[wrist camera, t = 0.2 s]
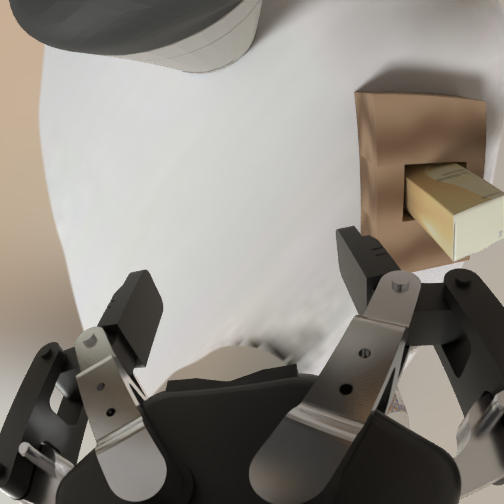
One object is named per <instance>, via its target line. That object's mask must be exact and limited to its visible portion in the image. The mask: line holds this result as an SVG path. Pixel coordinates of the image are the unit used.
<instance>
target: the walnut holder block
mask: <svg viewBox="0 0 504 504" xmlns="http://www.w3.org/2000/svg"><path fill="white" fill-rule="evenodd" d="M354 94H355V103H356V113H357V125H358V139H359V155H360V180H361V236H366V235H370V236H372V237H374V238H375V239H377V240H379V242H380V243H381V244H382V245H383V248H385V249H386V251H387V252H388V254H390V256H391V257H392V258H393V260H394V261H395V262H396V264H397V265H398V266H399V268H400V269H401V270H402V271H408V272H415V271H420V270H425V269H429V268H434V267H439V266H443V265H448V264H452V263H457V262H461V261H465V260H469V258H470V255H469V256H466V257H464V258H462V259H459V260H457V261H452V260H451V258H450V257H449V256H448V255H447V254H446V253H445V251H444V250H443V249H442V248H441V247H440V246H439V245H438V243H437V242H436V241H435V240H434V239H433V238H432V237H431V236H430V235H429V234H428V232H427V231H426V230H425V229H424V228H423V227H422V226H421V225H420V224H419V223H418V222H417V221H416V220H415V219H414V218H413V217H412V216H411V215H410V214H409V213H408V212H407V211H406V210H405V208H404V207H403V200H404V165H407V164H423V163H444V162H455V163H457V164H458V165H460V166H462V167H464V168H465V169H467V170H469V171H470V172H472V173H474V174H475V175H477V176H479V177H480V178H482V179H483V175H484V164H485V149H486V102H484V101H479V100H475V99H470V98H465V97H460V96H451V95H440V94H427V93H408V92H354Z"/></svg>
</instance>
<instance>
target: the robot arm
mask: <svg viewBox="0 0 504 504" xmlns="http://www.w3.org/2000/svg"><path fill="white" fill-rule="evenodd" d="M9 2H10V7H11V9H12V12H13V15H14V17H15V18H16V20H17V22H18V23H19V25H20V26H21V27H22V28H23V30H24V31H26V32H27V33H28V34H29V35H30V36H32V37H33V38H35V39H36V40H38V41H40V42H42V43H44V44H46V45H48V46H51V47H55V48H58V49H62V50H67V51H72V52H80V53H88V54H97V55H103V56H110V57H116V58H123V59H129V60H135V61H140V62H145V63H150V64H155V65H160V66H164V67H169V68H173V69H177V70H181V71H183V72H189V73H209V72H214V71H218V70H221V69H224V68H226V67H228V66H230V65H232V64H233V63H235V62H236V61H237V60H239V59H240V58H241V57H242V56H243V55H244V54H245V53H246V52H247V50H248V49H249V47H250V46H251V44H252V42H253V40H254V37H255V33H256V29H257V25H258V21H259V16H260V11H261V6H262V2H263V0H9ZM336 240H337V250H338V261H339V268H340V272H341V276H342V278H343V280H344V283H345V285H346V287H347V289H348V291H349V294H350V296H351V298H352V300H353V302H354V305H355V307H356V309H357V312H358V314H359V315H356V316H355V317H354V318H353V319H352V321H351V323H350V324H349V326H348V328H347V330H346V332H345V333H344V335H343V337H342V338H341V340H340V342H339V344H338V345H337V347H336V349H335V350H334V352H333V354H332V355H331V357H330V359H329V360H328V362H327V364H326V365H325V367H324V368H323V370H322V372H321V373H320V375H319V376H317V375H313V374H303V373H298V370H297V365H296V364H293V365H287V366H282V367H276V368H271V369H264V370H261V371H258V372H255V373H252V374H250V375H247V376H244V377H241V378H238V379H235V380H232V381H227V382H226V381H216V380H206V379H198V378H195V379H183V380H171V381H168V383H167V387H166V391H163V392H160V393H157V394H155V395H153V396H151V397H150V398H148V396H147V395H146V393H145V391H144V389H143V388H142V386H141V384H140V382H139V381H138V379H137V377H136V376H135V374H134V373H133V370H134V368H142V367H146V364H147V360H148V357H149V354H150V351H151V347H152V344H153V341H154V338H155V334H156V331H157V328H158V325H159V322H160V319H161V316H162V313H163V302H162V299H161V296H160V294H159V292H158V290H157V288H156V286H155V284H154V282H153V279H152V277H151V275H150V273H149V272H148V271H147V270H141V271H136V272H132V273H130V274H129V275H128V277H127V279H126V281H125V282H124V284H123V286H121V287H120V288H119V289H118V290H117V291H116V292H115V294H114V295H113V297H112V299H111V302H110V303H109V305H108V306H107V309H106V310H105V312H104V314H103V316H102V318H101V320H100V321H99V323H98V325H97V327H92V328H89V329H87V330H86V331H84V332H83V333H82V334H81V335H80V336H79V337H78V338H77V340H76V342H75V347H73V348H70V349H67V350H64V351H63V350H62V348H61V347H60V346H59V344H58V343H56V342H52V343H48V344H47V345H45V346H44V347H42V348H41V349H40V350H39V352H38V353H37V354H36V356H35V358H34V360H33V362H32V364H31V366H30V368H29V370H28V372H27V374H26V376H25V378H24V380H23V382H22V384H21V386H20V388H19V390H18V392H17V395H16V397H15V399H14V401H13V404H12V406H11V408H10V410H9V413H8V415H7V418H6V420H5V422H4V425H3V427H2V430H1V433H0V491H2V492H4V493H5V494H7V495H8V496H10V497H11V498H12V499H13V500H15V501H17V502H19V503H20V504H458V503H459V500H460V499H462V498H464V497H467V496H469V495H471V494H473V493H475V492H477V491H479V490H481V489H483V488H485V487H487V486H489V485H491V484H493V485H502V484H504V307H503V306H502V304H501V303H500V302H499V300H498V299H497V298H496V297H495V296H494V294H493V293H492V292H491V290H490V289H489V288H488V287H487V286H486V284H485V283H484V282H483V281H482V279H481V278H480V277H479V276H478V275H477V274H476V273H474V272H472V271H470V270H467V269H453V270H450V271H448V272H447V273H446V274H445V276H444V282H443V283H421V281H420V279H419V278H418V277H417V276H416V275H415V274H413V273H411V272H408V271H402V270H401V269H400V268H399V266H398V265H397V264H396V262H395V261H394V260H393V258H392V257H391V256H390V254H388V252H387V251H386V249H385V248H383V245H382V244H381V243H380V242H379V240H377V239H375V238H374V237H372V236H370V235H366V236H361V234H360V233H359V232H358V230H357V229H356V228H355V226H350V227H346V228H341V229H337V230H336ZM421 345H433V346H434V348H435V350H436V352H437V354H438V356H439V358H440V360H441V363H442V365H443V367H444V369H445V371H446V373H447V376H448V378H449V380H450V383H451V385H452V387H453V390H454V392H455V394H456V397H457V399H458V402H459V404H460V406H461V409H462V411H463V414H464V417H465V418H464V419H463V421H462V422H461V424H460V426H459V428H458V431H457V435H456V438H457V445H458V447H457V448H458V450H457V454H456V457H455V458H452V457H451V456H450V454H449V453H447V452H446V451H445V450H444V449H442V448H441V447H439V446H437V445H435V444H434V443H432V442H430V441H428V440H427V439H425V438H423V437H422V436H420V435H418V434H416V433H415V432H413V431H411V430H410V429H408V428H407V427H405V426H403V425H402V424H400V423H398V422H397V421H395V420H393V419H392V418H390V417H389V416H387V415H386V414H387V412H388V410H389V407H390V405H391V402H392V399H393V396H394V393H395V390H396V387H397V385H398V382H399V379H400V377H401V374H402V371H403V369H404V366H405V363H406V360H407V358H408V355H409V352H410V349H411V346H421ZM54 387H56V388H57V389H58V390H59V391H60V392H61V393H62V394H63V395H64V396H63V399H62V401H61V404H60V407H59V410H58V413H57V414H55V413H54V412H53V411H52V409H51V407H50V403H49V401H50V397H51V394H52V392H53V389H54ZM88 420H89V423H90V426H91V428H92V431H93V434H94V437H95V440H96V443H97V446H96V447H95V448H94V449H93V450H92V451H91V452H90V453H89V454H88V455H86V456H85V457H84V458H83V459H82V460H81V461H80V462H79V463H78V464H77V460H78V456H79V451H80V447H81V443H82V440H83V436H84V432H85V428H86V424H87V421H88ZM76 464H77V465H76Z"/></svg>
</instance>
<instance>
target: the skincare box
mask: <svg viewBox="0 0 504 504" xmlns="http://www.w3.org/2000/svg"><path fill="white" fill-rule="evenodd" d="M403 207H404V208H405V210H406V211H407V212H408V213H409V214H410V215H411V216H412V217H413V218H414V219H415V220H416V221H417V222H418V223H419V224H420V225H421V226H422V227H423V228H424V229H425V230H426V231H427V232H428V234H429V235H430V236H431V237H432V238H433V239H434V240H435V241H436V242H437V243H438V245H439V246H440V247H441V248H442V249H443V250H444V251H445V253H446V254H447V255H448V256H449V257H450V258H451V260H452V261H457V260H459V259H462V258H464V257H466V256H469V255H471V254H473V253H476V252H479V251H482V250H483V249H485V248H487V247H489V246H491V245H493V244H495V243H497V242H500V241H502V240H504V192H502V191H501V190H499V189H497V188H496V187H495V186H493V185H491V184H490V183H488V182H487V181H485V180H484V179H482V178H480V177H479V176H477V175H475V174H474V173H472V172H470V171H469V170H467V169H465V168H464V167H462V166H460V165H458V164H457V163H455V162H444V163H423V164H407V165H404V200H403Z"/></svg>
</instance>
